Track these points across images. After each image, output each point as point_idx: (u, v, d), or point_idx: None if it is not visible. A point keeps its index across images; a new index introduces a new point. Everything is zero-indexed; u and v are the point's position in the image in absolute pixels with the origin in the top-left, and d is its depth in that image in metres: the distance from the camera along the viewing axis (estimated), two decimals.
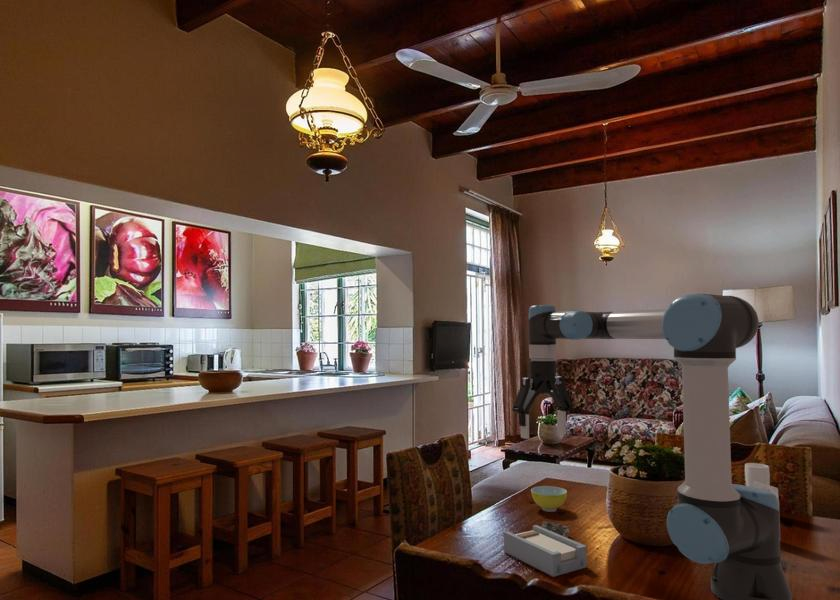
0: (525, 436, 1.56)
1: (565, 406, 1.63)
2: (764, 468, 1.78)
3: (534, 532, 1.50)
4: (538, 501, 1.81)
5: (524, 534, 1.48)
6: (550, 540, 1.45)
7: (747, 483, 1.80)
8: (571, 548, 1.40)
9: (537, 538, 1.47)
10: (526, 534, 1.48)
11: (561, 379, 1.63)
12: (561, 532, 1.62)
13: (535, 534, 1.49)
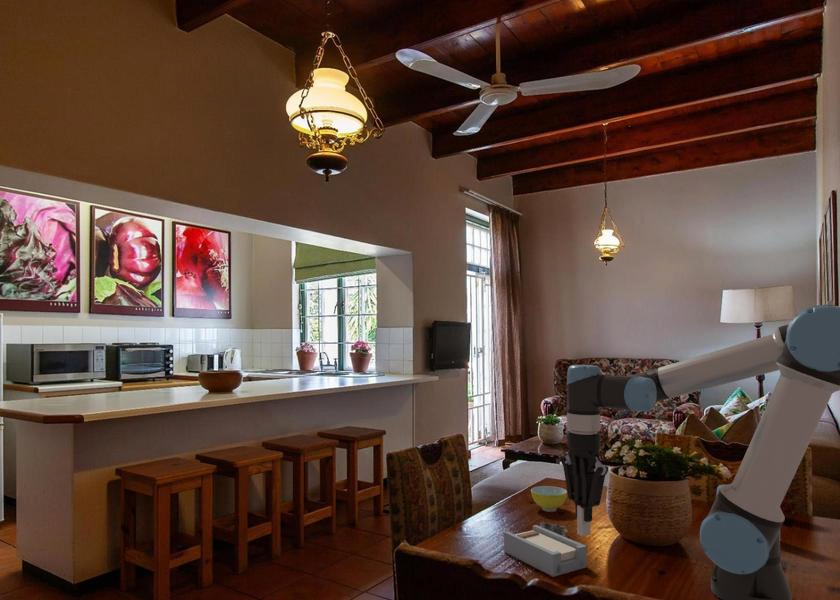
0: None
1: (584, 501, 1.31)
2: None
3: (534, 532, 1.50)
4: (538, 501, 1.81)
5: (524, 534, 1.48)
6: (550, 540, 1.45)
7: None
8: (571, 548, 1.40)
9: (537, 538, 1.47)
10: (526, 534, 1.48)
11: (597, 469, 1.28)
12: (558, 532, 1.62)
13: (535, 534, 1.49)
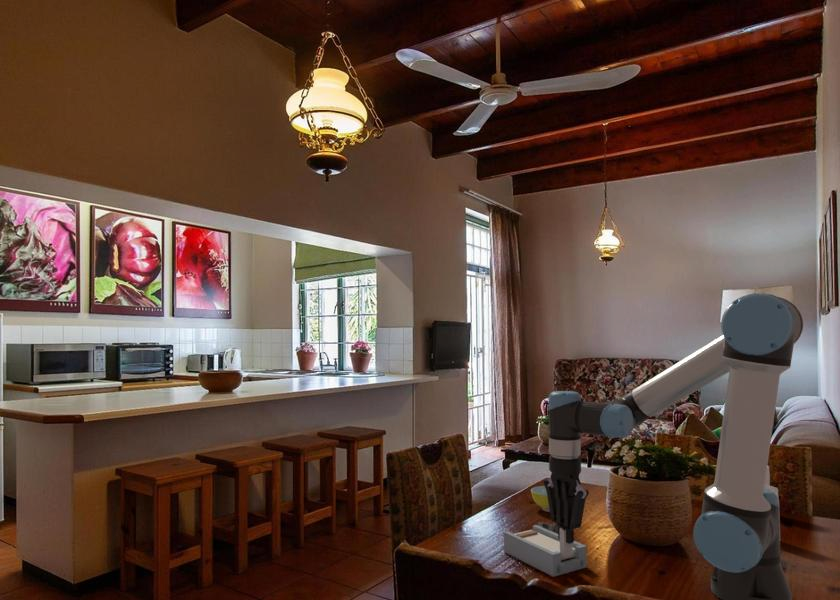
0: None
1: (566, 523, 1.36)
2: None
3: (533, 531, 1.50)
4: (538, 501, 1.81)
5: (523, 533, 1.49)
6: (549, 539, 1.46)
7: None
8: None
9: (535, 537, 1.47)
10: (525, 533, 1.49)
11: (578, 493, 1.33)
12: (556, 532, 1.62)
13: (534, 533, 1.49)
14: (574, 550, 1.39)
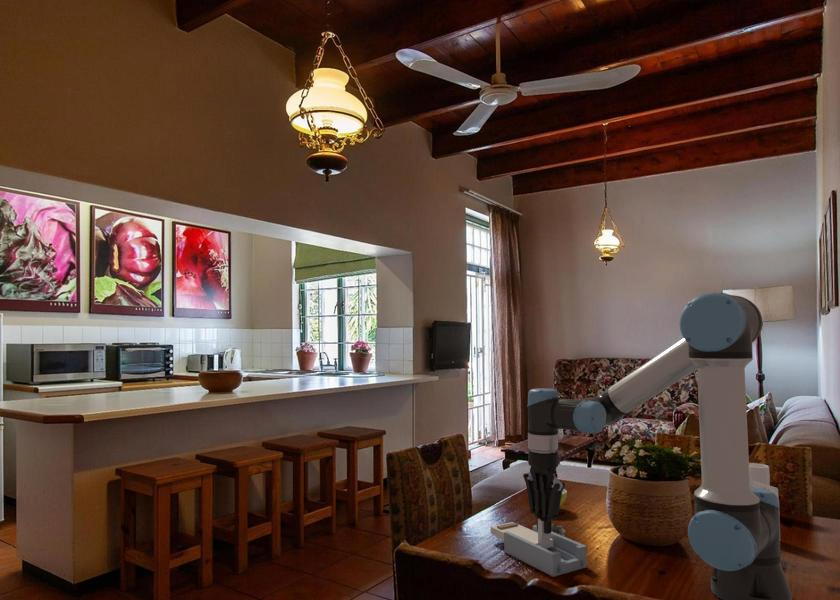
0: None
1: (544, 515, 1.42)
2: (764, 468, 1.78)
3: (513, 523, 1.57)
4: None
5: (504, 525, 1.55)
6: (528, 531, 1.52)
7: None
8: None
9: (516, 529, 1.54)
10: (505, 525, 1.55)
11: (555, 485, 1.39)
12: (555, 532, 1.62)
13: (514, 525, 1.56)
14: (551, 540, 1.46)
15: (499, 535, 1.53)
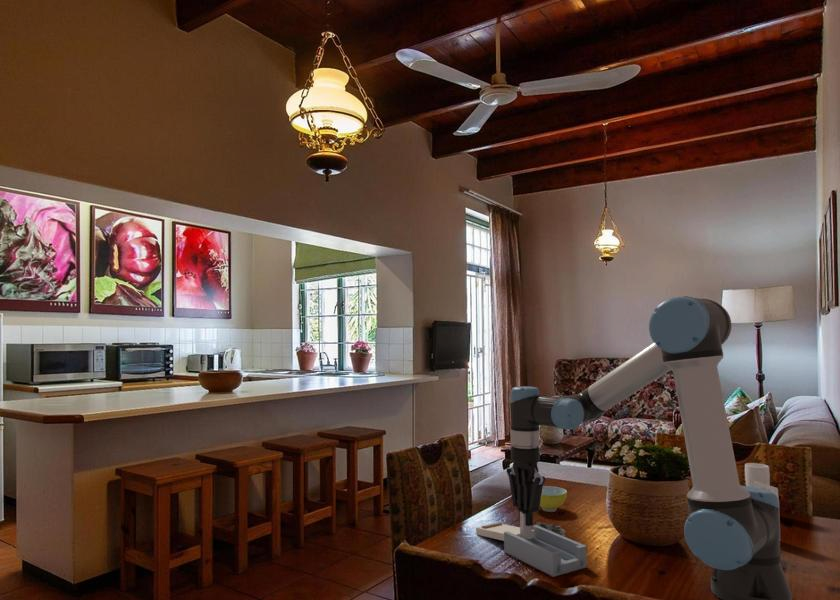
0: None
1: (525, 508, 1.48)
2: (764, 468, 1.78)
3: (498, 523, 1.63)
4: None
5: (488, 525, 1.61)
6: (512, 527, 1.58)
7: (747, 483, 1.80)
8: None
9: (500, 527, 1.60)
10: (490, 525, 1.61)
11: (535, 479, 1.45)
12: (554, 532, 1.62)
13: (498, 524, 1.62)
14: (533, 531, 1.52)
15: (484, 534, 1.58)
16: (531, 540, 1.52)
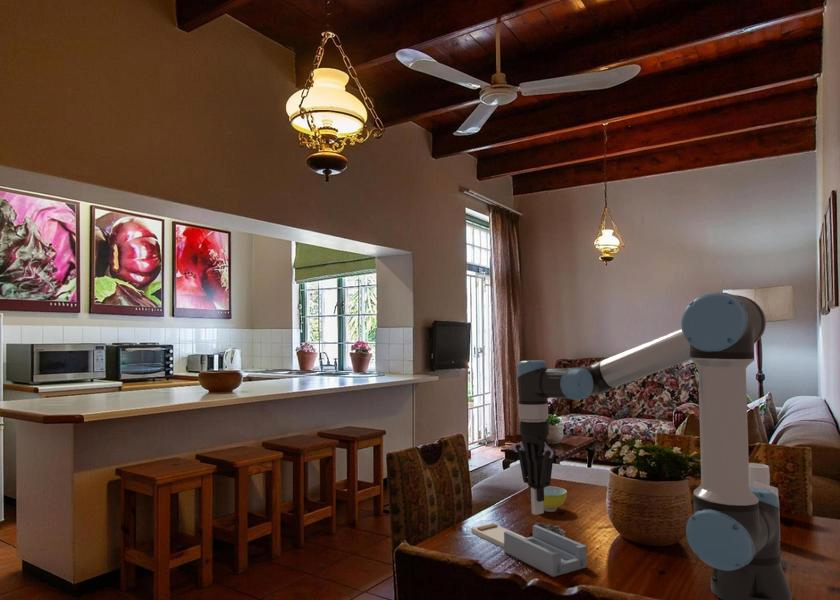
0: None
1: (536, 483, 1.45)
2: (764, 468, 1.78)
3: (493, 525, 1.64)
4: None
5: (484, 526, 1.62)
6: None
7: None
8: None
9: (495, 530, 1.61)
10: (486, 526, 1.62)
11: (546, 453, 1.43)
12: None
13: (494, 526, 1.63)
14: None
15: (479, 536, 1.60)
16: (531, 540, 1.52)
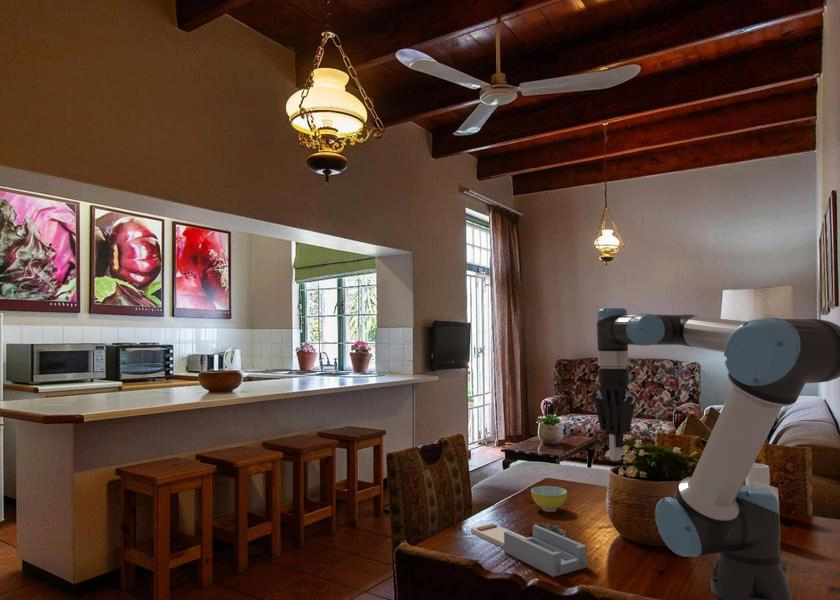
0: None
1: (616, 429, 1.46)
2: (764, 468, 1.78)
3: (493, 525, 1.64)
4: (538, 501, 1.81)
5: (483, 527, 1.62)
6: None
7: (747, 483, 1.80)
8: None
9: (495, 530, 1.61)
10: (485, 527, 1.62)
11: (628, 398, 1.43)
12: None
13: (493, 526, 1.63)
14: None
15: (479, 536, 1.60)
16: (531, 540, 1.52)
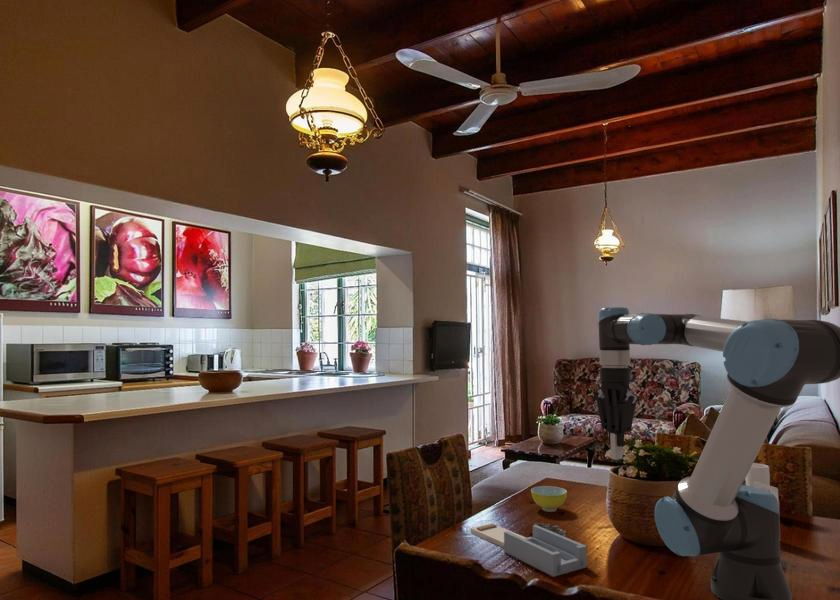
0: None
1: (617, 428, 1.46)
2: (764, 468, 1.78)
3: (492, 525, 1.64)
4: (538, 501, 1.81)
5: (483, 527, 1.62)
6: None
7: (747, 483, 1.80)
8: None
9: (495, 530, 1.61)
10: (485, 527, 1.62)
11: (629, 398, 1.43)
12: None
13: (493, 526, 1.63)
14: None
15: (479, 536, 1.60)
16: (531, 540, 1.52)
